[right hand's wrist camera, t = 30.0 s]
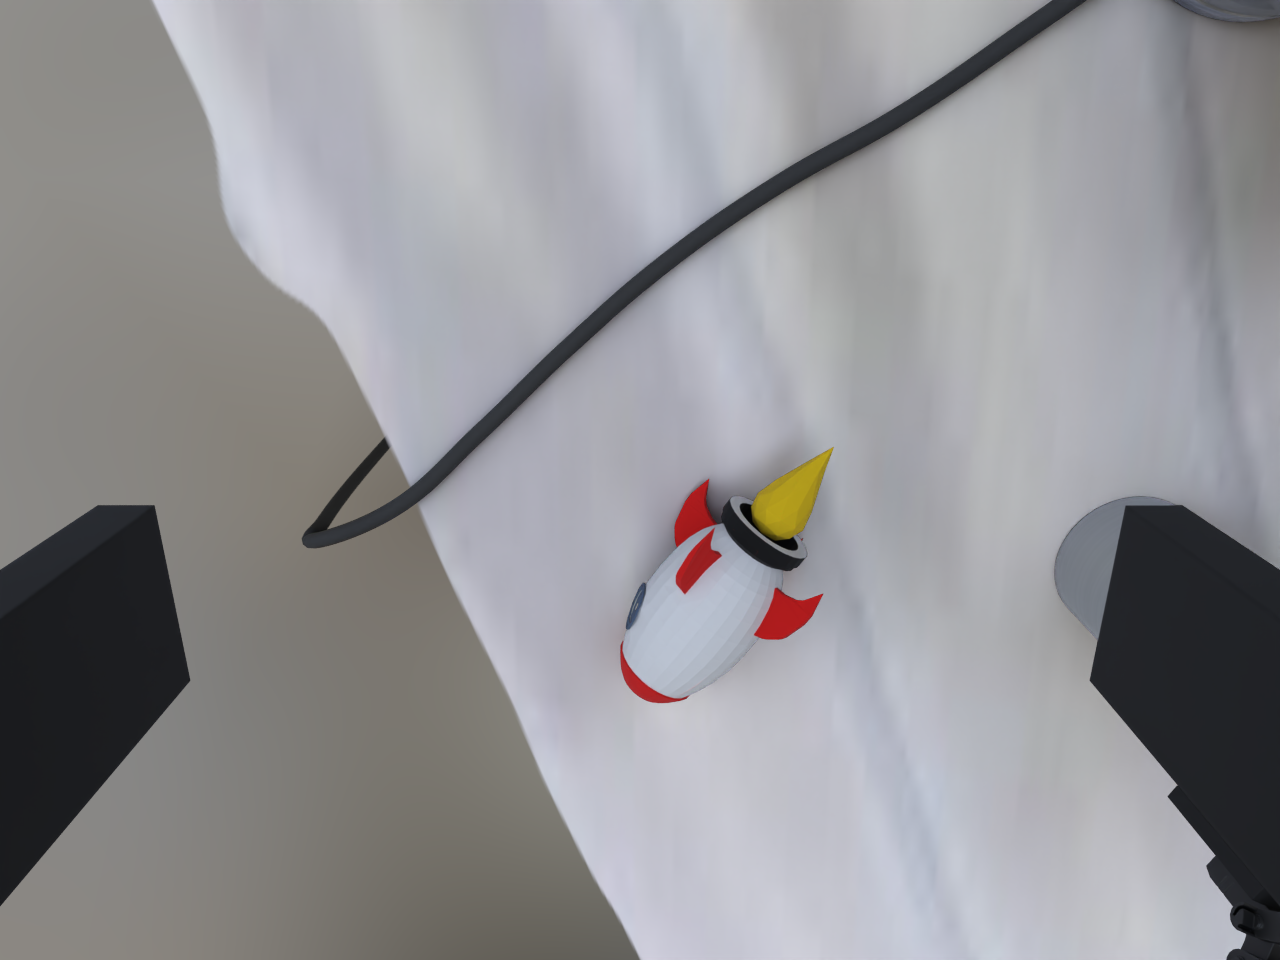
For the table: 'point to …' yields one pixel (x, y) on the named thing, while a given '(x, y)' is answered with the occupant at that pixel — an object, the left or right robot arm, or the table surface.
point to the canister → (1092, 560)
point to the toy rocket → (720, 588)
